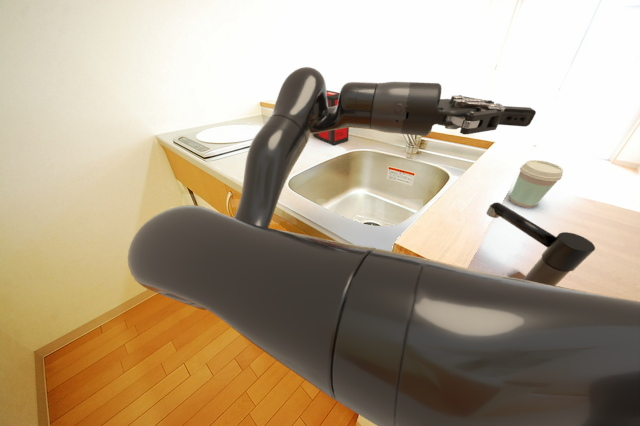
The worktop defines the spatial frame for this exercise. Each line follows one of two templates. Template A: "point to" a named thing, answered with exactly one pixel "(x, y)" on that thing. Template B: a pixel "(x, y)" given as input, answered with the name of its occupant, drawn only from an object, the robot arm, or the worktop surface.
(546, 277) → the base
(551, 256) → the spout
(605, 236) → the worktop surface
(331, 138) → the cleaning product box
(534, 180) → the coffee cup
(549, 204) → the worktop surface
